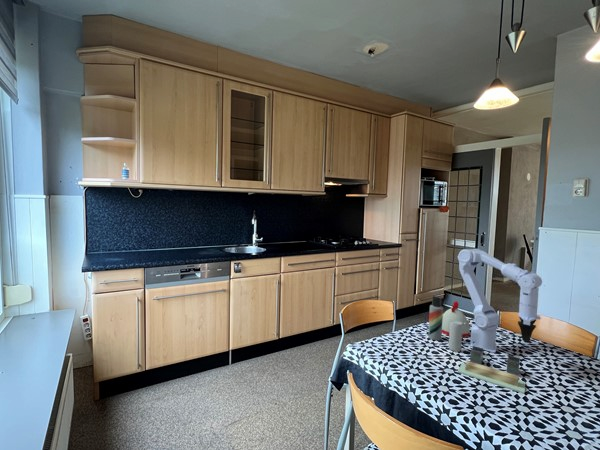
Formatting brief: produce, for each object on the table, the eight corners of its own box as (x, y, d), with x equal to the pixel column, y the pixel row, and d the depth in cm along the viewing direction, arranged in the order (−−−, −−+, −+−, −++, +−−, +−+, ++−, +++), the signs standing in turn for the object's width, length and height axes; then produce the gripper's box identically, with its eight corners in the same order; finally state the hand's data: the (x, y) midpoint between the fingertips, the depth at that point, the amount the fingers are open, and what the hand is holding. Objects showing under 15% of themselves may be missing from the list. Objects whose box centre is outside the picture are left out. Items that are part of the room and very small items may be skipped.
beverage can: (462, 353, 130) (464, 325, 129) (450, 351, 131) (452, 323, 130) (459, 348, 134) (460, 321, 134) (447, 346, 135) (448, 320, 135)
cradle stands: (469, 362, 121) (470, 349, 121) (472, 358, 125) (472, 345, 125) (518, 377, 112) (519, 363, 111) (518, 371, 116) (519, 358, 115)
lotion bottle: (425, 335, 147) (428, 294, 146) (437, 335, 147) (439, 294, 146) (432, 340, 141) (434, 297, 140) (443, 340, 142) (446, 298, 140)
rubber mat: (457, 372, 114) (457, 371, 114) (462, 364, 120) (462, 362, 120) (524, 393, 101) (524, 392, 101) (525, 383, 108) (525, 382, 108)
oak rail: (465, 370, 114) (465, 363, 114) (466, 367, 117) (467, 360, 117) (517, 386, 104) (518, 379, 104) (518, 382, 107) (518, 376, 107)
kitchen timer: (472, 332, 153) (474, 302, 152) (464, 340, 143) (466, 308, 142) (443, 324, 163) (445, 296, 162) (434, 331, 153) (435, 301, 152)
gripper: (541, 310, 113) (538, 346, 114) (541, 302, 124) (539, 335, 125) (517, 306, 117) (515, 341, 118) (519, 298, 129) (517, 330, 129)
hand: (526, 337), depth 122 cm, fingers open, 7 cm apart
